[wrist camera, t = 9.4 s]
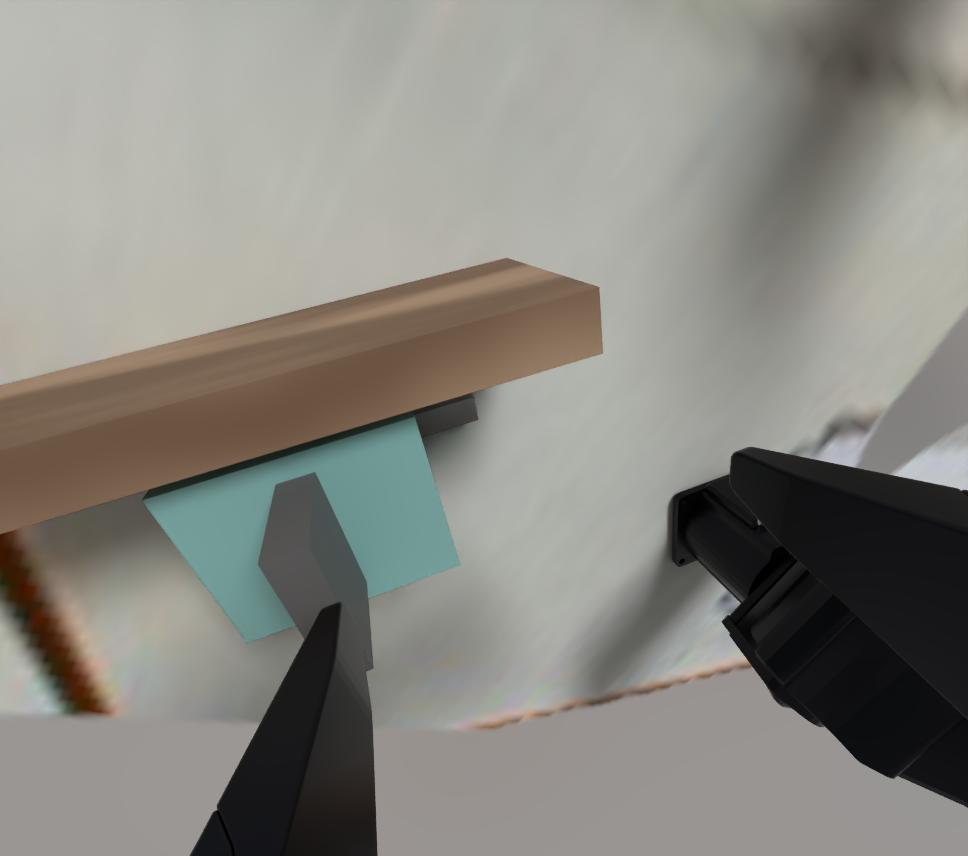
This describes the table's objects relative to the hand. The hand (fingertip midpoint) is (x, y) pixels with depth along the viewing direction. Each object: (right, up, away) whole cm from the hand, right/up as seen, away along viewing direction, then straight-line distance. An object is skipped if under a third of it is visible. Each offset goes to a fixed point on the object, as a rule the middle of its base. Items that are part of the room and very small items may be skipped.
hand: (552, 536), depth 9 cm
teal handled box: (-9, +2, +11) cm, 14 cm away
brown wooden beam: (-9, +4, +10) cm, 14 cm away
